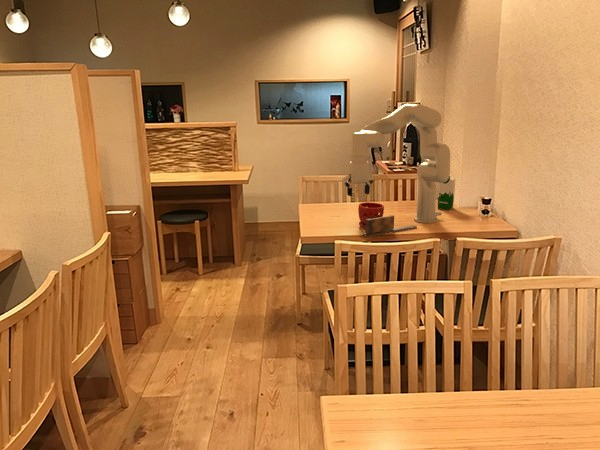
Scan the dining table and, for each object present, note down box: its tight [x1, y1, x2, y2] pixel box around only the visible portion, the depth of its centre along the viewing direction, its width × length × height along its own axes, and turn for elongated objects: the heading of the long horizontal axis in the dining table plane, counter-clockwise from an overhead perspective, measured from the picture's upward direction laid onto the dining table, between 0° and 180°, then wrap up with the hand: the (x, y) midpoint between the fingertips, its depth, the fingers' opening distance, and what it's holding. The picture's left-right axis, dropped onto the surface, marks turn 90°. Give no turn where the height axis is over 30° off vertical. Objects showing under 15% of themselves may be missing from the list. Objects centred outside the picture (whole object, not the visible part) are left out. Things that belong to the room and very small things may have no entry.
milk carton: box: [437, 175, 456, 211], centre depth 294 cm, size 9×9×20 cm
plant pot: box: [358, 201, 385, 229], centre depth 259 cm, size 13×13×12 cm
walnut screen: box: [364, 215, 395, 234], centre depth 248 cm, size 16×2×7 cm, turn 117°
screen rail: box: [363, 224, 418, 238], centre depth 252 cm, size 31×3×1 cm, turn 117°
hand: (358, 194), depth 238 cm, fingers open, 9 cm apart
